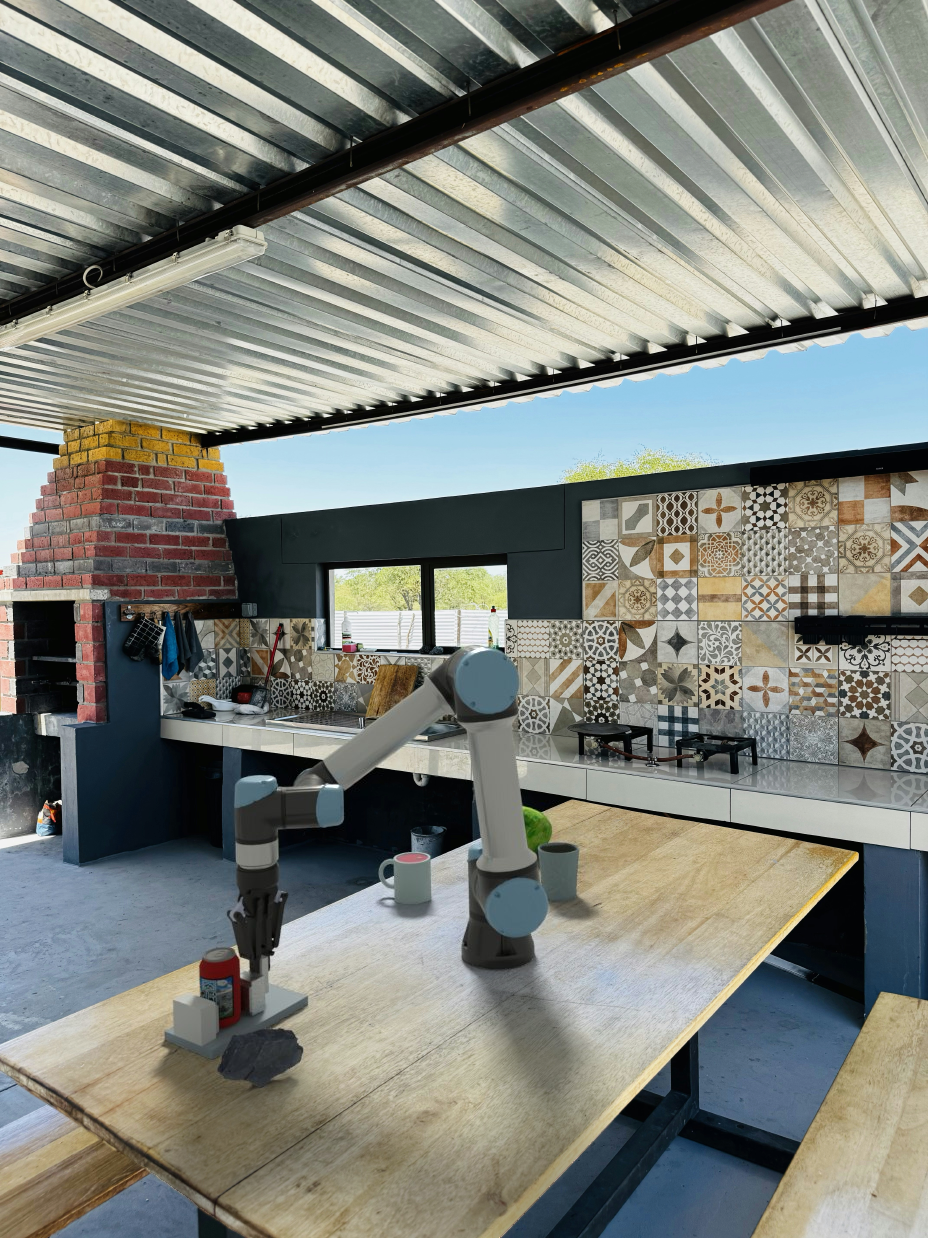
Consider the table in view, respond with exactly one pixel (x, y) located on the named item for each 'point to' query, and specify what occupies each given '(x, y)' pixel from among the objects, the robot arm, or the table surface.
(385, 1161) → the table surface
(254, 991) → the block
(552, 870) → the grey-green cup
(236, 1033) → the vise bed
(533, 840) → the lettuce
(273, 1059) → the stone
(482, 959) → the robot arm
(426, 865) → the mug
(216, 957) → the beverage can
